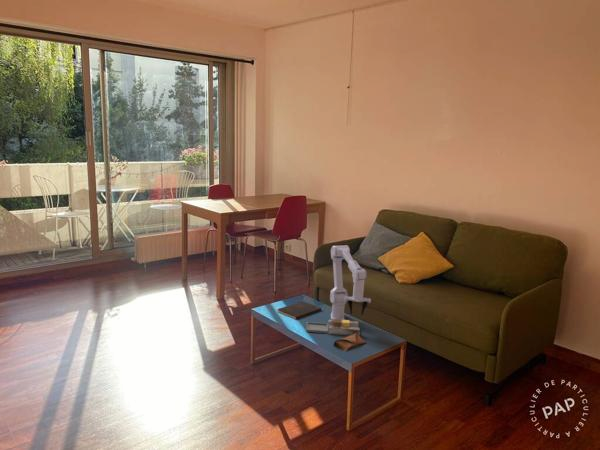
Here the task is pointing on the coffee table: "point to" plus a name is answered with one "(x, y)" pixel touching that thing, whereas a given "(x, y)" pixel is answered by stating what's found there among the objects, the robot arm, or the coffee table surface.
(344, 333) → the channel
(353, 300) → the robot arm
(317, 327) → the tray
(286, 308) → the hardcover book
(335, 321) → the walnut cube
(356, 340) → the sunglasses case
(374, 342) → the coffee table surface
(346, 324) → the mustard cube
